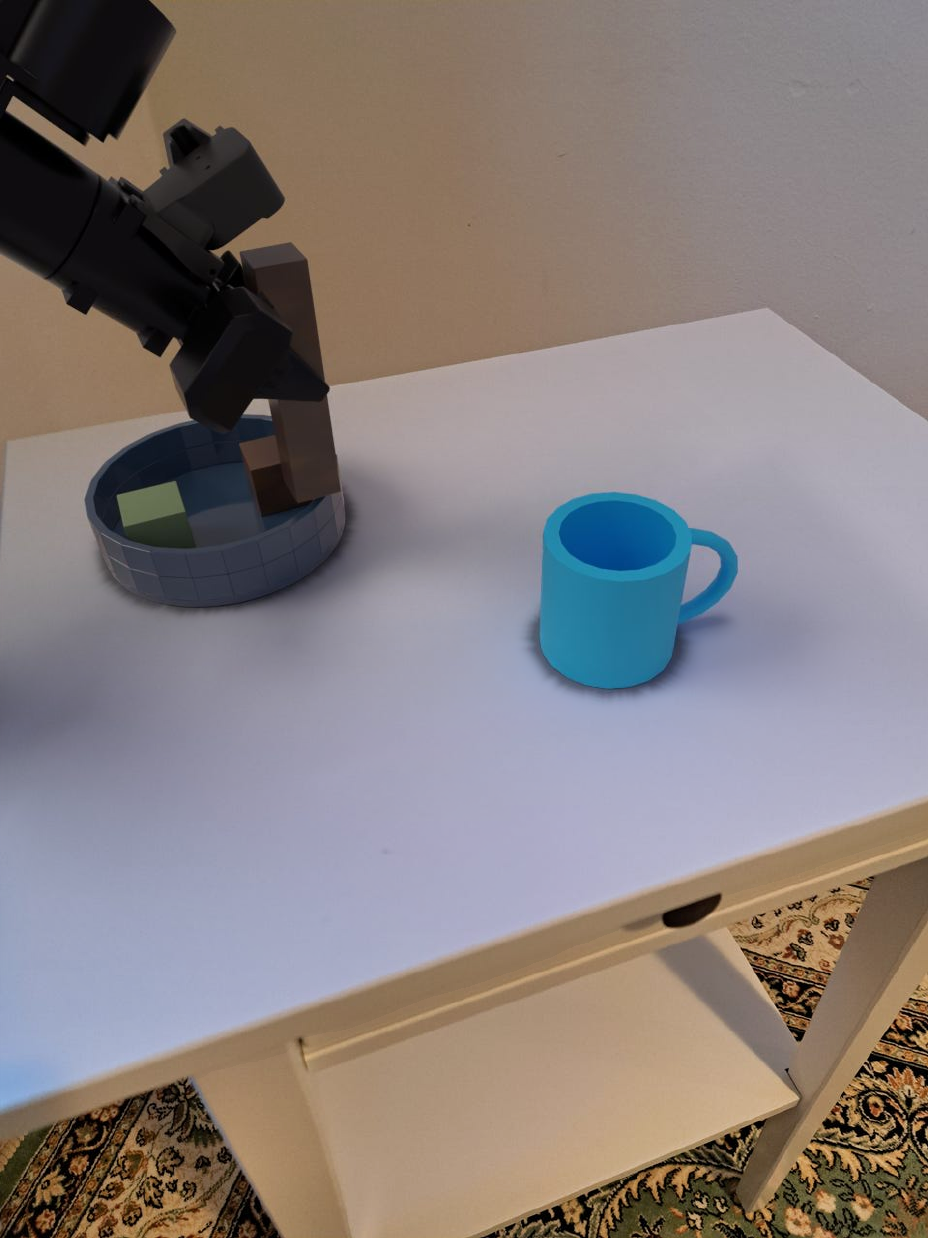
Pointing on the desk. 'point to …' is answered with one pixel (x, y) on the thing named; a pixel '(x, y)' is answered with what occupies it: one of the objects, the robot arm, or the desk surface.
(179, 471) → the bowl
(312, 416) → the stick
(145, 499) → the sage cube
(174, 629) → the desk surface
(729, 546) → the mug
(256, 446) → the walnut cube
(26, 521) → the desk surface
